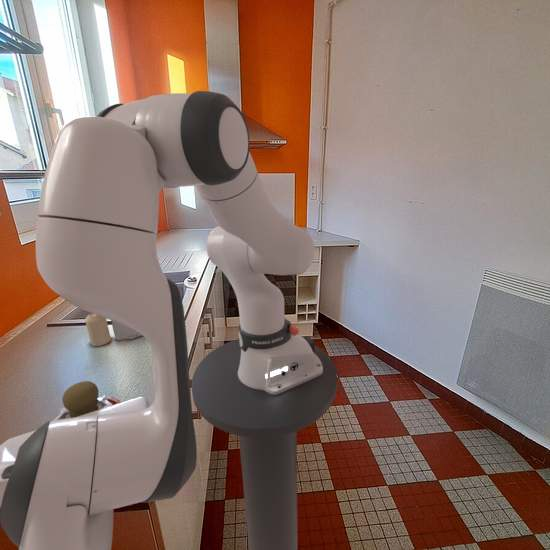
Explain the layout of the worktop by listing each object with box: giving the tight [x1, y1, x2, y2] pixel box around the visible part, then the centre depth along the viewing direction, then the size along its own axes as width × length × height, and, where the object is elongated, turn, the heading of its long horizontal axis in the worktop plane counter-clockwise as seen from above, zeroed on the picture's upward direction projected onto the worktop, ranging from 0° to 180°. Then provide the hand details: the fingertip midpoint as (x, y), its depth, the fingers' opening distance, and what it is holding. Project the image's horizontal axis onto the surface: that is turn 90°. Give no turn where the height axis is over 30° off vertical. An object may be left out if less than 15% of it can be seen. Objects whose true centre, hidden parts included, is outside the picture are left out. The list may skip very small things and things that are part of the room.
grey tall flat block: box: [110, 320, 144, 341], centre depth 95 cm, size 11×4×22 cm, turn 111°
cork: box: [61, 380, 100, 418], centre depth 53 cm, size 6×6×11 cm
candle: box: [84, 313, 112, 347], centre depth 94 cm, size 6×6×10 cm
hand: (84, 404), depth 53 cm, fingers closed on cork, 4 cm apart
